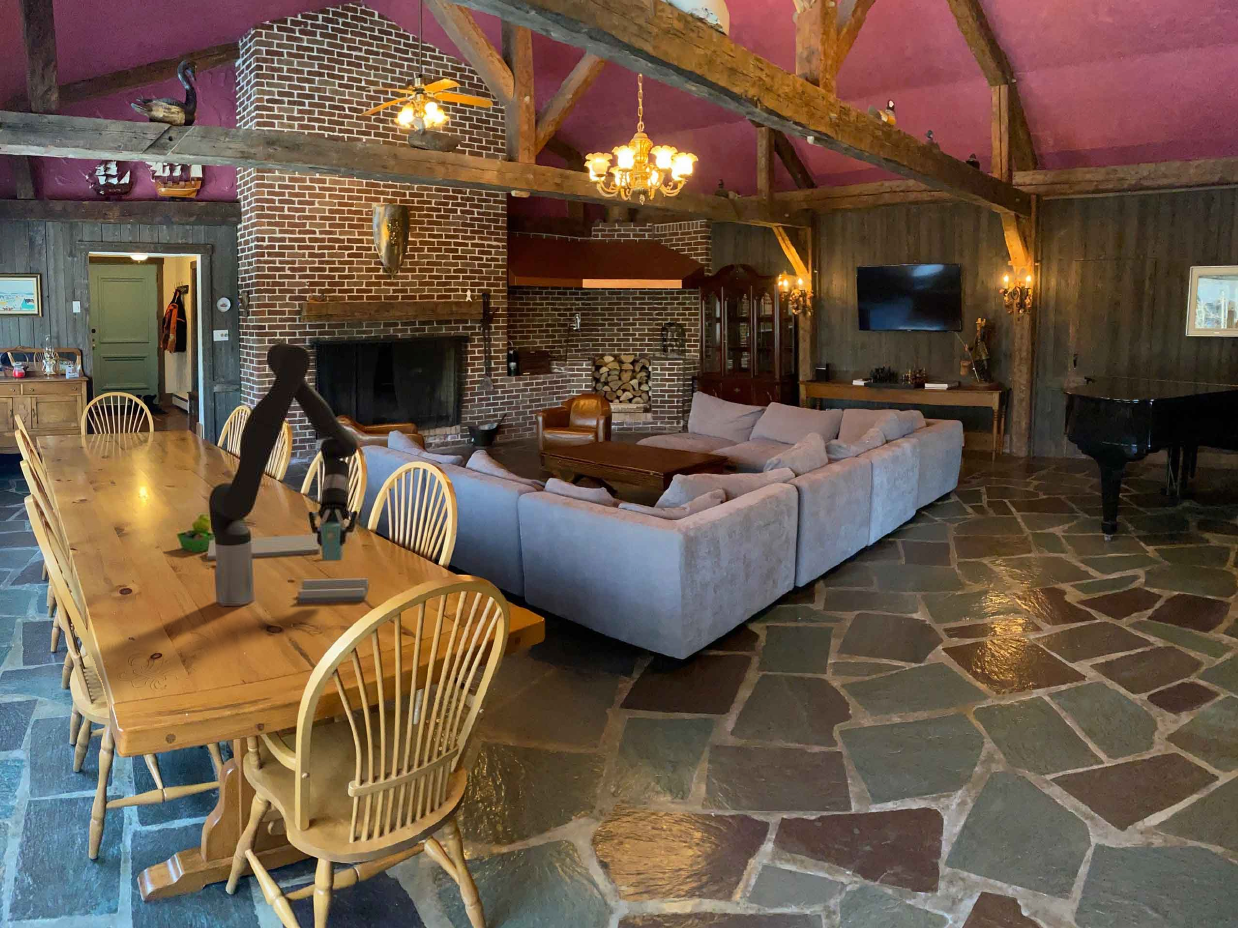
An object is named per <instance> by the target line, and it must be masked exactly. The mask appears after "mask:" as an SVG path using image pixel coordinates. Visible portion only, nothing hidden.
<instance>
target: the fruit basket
mask: <svg viewBox="0 0 1238 928" xmlns="http://www.w3.org/2000/svg"><path fill="white" fill-rule="evenodd" d="M191 527H192V528H193V529H189V530H187V531H185V532H184V531H183V532H179V533H176V536H177V538H178V541H179V543H180V547H181V548H182V549H183V550H187V551H191V552H194V553H202V552H206V551H207V552H208V548H209V542H210V540H215V537H214V535H213V533H210V532H209V531H210V528H211V521H210V517H209V515H208V514H204V513H203V514H200V515H199V517H198V518H197V519H195V520H194V521H193V522H192V524H191Z"/></svg>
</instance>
